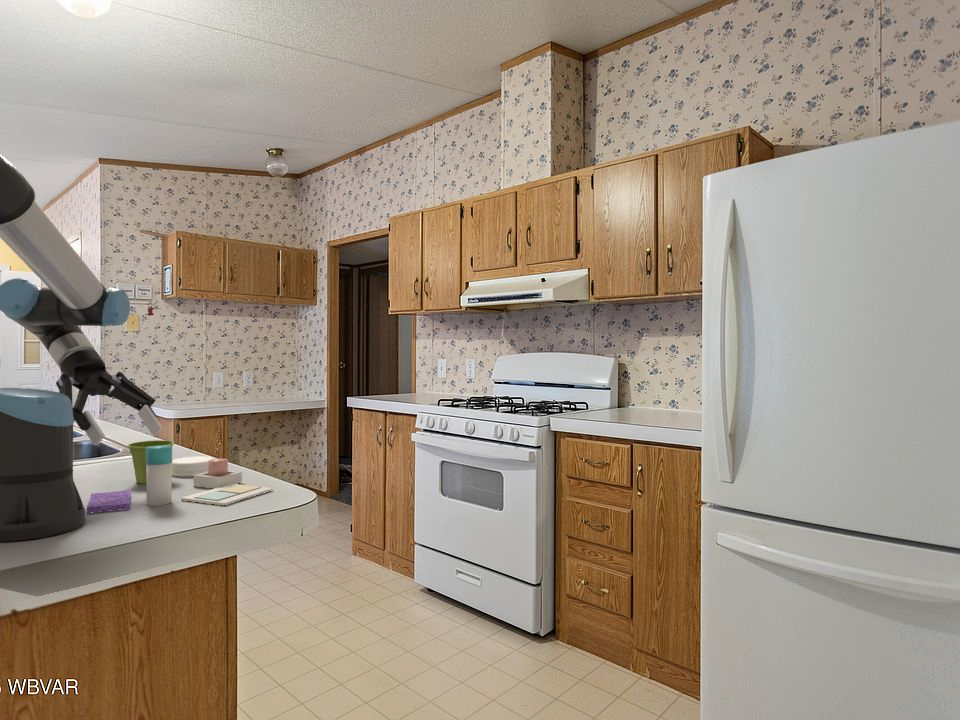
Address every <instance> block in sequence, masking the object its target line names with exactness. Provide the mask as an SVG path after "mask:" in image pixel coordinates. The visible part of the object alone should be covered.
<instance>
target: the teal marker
mask: <svg viewBox="0 0 960 720" xmlns="http://www.w3.org/2000/svg"><path fill="white" fill-rule="evenodd" d="M172 460H173V445H172V446H168V445H160V446H150V447H146V484H145V486H146V487H145V488H146V499H145V500H146V503H145V504H146V506H149V507H158V506H159V505H160V506H165V504H166V505H169V503H170V504H171V503H172V501H173V500H172V495H173V494H172V492H173V491H172V490H173V489H172V488H173V486H172V484H173V483H172V481H173V478H172V477H173V476H172Z"/></svg>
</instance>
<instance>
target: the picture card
mask: <svg viewBox="0 0 960 720" xmlns="http://www.w3.org/2000/svg"><path fill="white" fill-rule="evenodd" d="M270 490H273V491H274V488H273V487H266V486H264V487H263V486H258V485H257V486H256V485H247V484H241V483H240V484H229V485H226V486H222V487H218V488H215V489H208V490H205V491H200V492H198V493H194V494H190V495H189V494H188V495H187V496H182V497H181V498H180V501H181V500H183V501H182V502H187V501H191V502H190V503H195V502H199V503H198V504H203V503H206V504H205V505H211V504H215V505H214V506H219V505H227V504H230V503H232V502H236V501H239V500H242V499H245V498H248V497H251V496H254V495H257V494H261V493H264V492H267V491H270ZM236 503H237V502H236ZM216 504H217V505H216ZM230 505H231V504H230ZM227 506H228V505H227Z"/></svg>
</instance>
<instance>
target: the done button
mask: <svg viewBox="0 0 960 720" xmlns="http://www.w3.org/2000/svg"><path fill="white" fill-rule="evenodd" d="M228 465H229V459H228V458H214V459H211V460H209V461H208V476H217V477H219V476H223V475H227V474H228V471H229V466H228Z"/></svg>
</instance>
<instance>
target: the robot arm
mask: <svg viewBox="0 0 960 720" xmlns="http://www.w3.org/2000/svg"><path fill="white" fill-rule="evenodd" d="M0 239H1V241H3V243H5V244H6V246H8V247H9V248H10V249H11V251H12V252H13V253H14V254H16V256H17V257H18V258H19V259H20V260H21V261H22V262H23V263H24V264H25V265H26V266H27V267H28V268H29V269H30V270H31V271H32V272H33V273H34V274H35V275H36V276H37V277H38V278H39V279H40V280H41V281H42V282H43V283H44V285H46V287H45V286H44V287H42V286H41V287H39V286H37V285H36V284H35V283H33V282H31V281H30V280H28V279H25V278H20V277H16V278H11V279H8V280H6V281H4V282H2V283H1V284H0V311H1V312H2V313H3V314H4V315H5V316H6V317H7V318H8V319H10V320H12V321H13V322H15V323H17V324H18V325H20V326H21V327H23V328H25V330H27V331H29V332H30V333H31V334H33V335H34V336H36V337H37V338H38V339H39V341H40V342H41V343H42V344H43V346H44V347H45V349H46V351H47V353H48V354H49V355H50V357H51V358H52V360H53V361H54V362H55V363H56V366H57V367H58V368H59V370H60V372H61V373H62V374H61V376H60V377H59V378H58V379H57V380H56V382H55V384H56V387H57V389H58V391H59V392H57V391H55V390H54V391H53V390H47V389H39V388H38V389H37V388H27V387H26V388H19V387H0V542H15V541H16V542H19V541H26V540H33V539H40V538H45V537H51V536H56V535H60V534H64V533H67V532H70V531H72V530H75V529H78V528H80V527H82V526H83V525H84V524H85V523H86V508H85V506H84V503H83V501H82V498H81V495H80V493H79V491H78V488H77V486H76V483H75V481H74V424H75V423H76V424H77V426H78V427H79V429H80V430H81V431H84V432H85V434H86V435H87V436H88V439H89V440H90V442H91V443H92V444H93V446H98V445H100V443H101V442H102V440H103V439H104V438H105V436H106V435H105V433H104V432H103V430H102V429H101V427H100V426H99V425H98V423H97V421H96V420H95V418H94V417H93V416H92V414H91V413H90V411H89V410H84V409H85V407H86V403H87V401H88V398H89V396H91V397H95V396H107V397H108V398H114V399H116V400H118V401H120V402H121V403H123V404H126V405H128V406H129V407H131V408H133V409H135V410H137V411H138V412H137V415H138V417H139V418H140V419H141V420H142V422H143V423H144V425H145V427H146V428H147V429H148V431H149V432H150V433H151V435H152V436H153V437H156V436H158V435H159V434H160V432H161V431H162V430H163V429H164V426H163V425H162V423H161V422H160V420H158V418H157V417H158V416H157V414H156V413H155V411H154V410H153V408H152V406H153V405H154V404H155V402H156V399H155V398H154V397H152V396H151V395H149V394H148V393H147V392H146V391H145V390H143V388H142V389H141V388H140V387H139V386H138V385H136V384H135V383H134V382H132V381H131V380H130V379H128V378H127V376H126V375H125V373H123V372H121V371H118V372H117V373H116V374H110V373H109V372H108V371H107V369H106V364H105V362H104V360H103V358H102V357H101V355H100V354H99V353H98V352H97V350H96V348H95V347H94V346H93V344H92V343H91V341H90V340H89V339H88V337H87V336H86V334H85V333H84V332H83V330H82V329H81V328H80V326H81V327H82V326H85V327H86V326H87V327H90V326H91V327H104V328H106V327H110V326H111V327H113V326H122V325H124V324H125V323H126V322H127V321H128V319H129V316H130V311H131V304H130V299H129V296H128V294H127V293H126V291H124V290H123V289H121V288H114V287H105V286H104V285H103V284H102V282H101V281H100V280H99V279H98V277H97V276H96V275H95V273H94V272H92V270H91V269H90V268H89V267H88V265H87V264H86V262H85V261H84V260H83V259H82V257H80V255H79V254H78V253H77V252H76V250H75V249H74V248H73V246H71V244H70V242H69V241H68V240H67V239H66V238H65V236H63V234H62V233H61V232H60V230H59V229H58V228H57V227H56V226H55V224H54V223H53V221H51V220H50V217H48V216H47V214H46V213H45V211H44V210H43V209H42V208H41V207H40V206H39V204H38V203H37V202H36V192H35V190H34V187H33V186H32V185H31V184H30V182H29V181H28V180H27V178H25V176H24V174H22V172H20V171H19V169H17V168H16V167H15V165H13V164H12V163H11V162H10V161H9V160H7V158H5V157H4V156H2V155H1V154H0ZM73 387H74V388H76V389H78V393H77V396H76V400H75V402H74V404H73ZM112 387H113V389H112ZM111 389H112V390H111Z"/></svg>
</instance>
